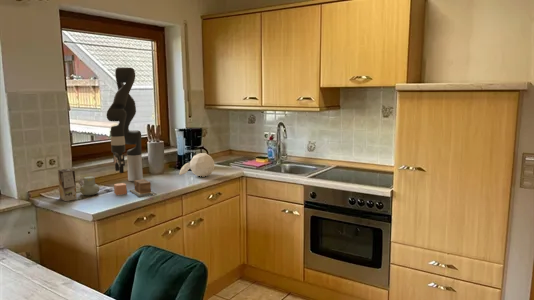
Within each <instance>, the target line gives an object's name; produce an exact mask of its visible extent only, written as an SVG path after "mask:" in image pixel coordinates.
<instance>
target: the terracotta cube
mask: <svg viewBox="0 0 534 300" xmlns="http://www.w3.org/2000/svg"><path fill="white" fill-rule="evenodd" d="M113 190H114V191H113V193H114V194H115V195H116V196H120V195H127V194H128V192H127V190H128V189H127V184H126V183H125V182H121V183H114V184H113Z"/></svg>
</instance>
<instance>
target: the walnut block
mask: <svg viewBox="0 0 534 300" xmlns="http://www.w3.org/2000/svg"><path fill="white" fill-rule="evenodd" d="M133 183H134V189H135V191H137V192H138V193H140V194H143V193H150V192H151V191H152V184H151V181H149V180H147V179H145V178H143V179H142V180H134V181H133Z"/></svg>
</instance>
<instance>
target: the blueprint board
mask: <svg viewBox="0 0 534 300" xmlns="http://www.w3.org/2000/svg"><path fill="white" fill-rule="evenodd" d="M129 192H130V193H132V194H134V195H135V196H136V197H138V198H143V197H149V195H151V196H154V195H153V194H156V195H157V192H154V191H153V190H151V192H150V193H143V194H140V193H138V192H137V191H135V188H133V189H129Z"/></svg>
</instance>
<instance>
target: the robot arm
mask: <svg viewBox="0 0 534 300" xmlns="http://www.w3.org/2000/svg"><path fill="white" fill-rule="evenodd" d="M114 72H115V73H114V75H115V82H116V85H117V86H116V87H117V90H116V92H115V94H114V97H113V101H112V103H111V105H110V107H108V110H107V111H106V118H107V119H106V120H107V121H109V122H118V124H117V125H112V126H111V127H110V145H111V146H110V147H111V148H110V149H111V153H113V155H112V156H113V157H112V158H113V163H114V167H115V168H114V169H115V172H118V171H119V174H123V173H124V172H125V170H124V167H125V166H126V162H127V181H129V182H134V180H142V179H144V177H143V160H142V157H143V156H142V153H143V152H142V133H141V130H130V129H129V127H130V124H131V123H132V120H133V119H134V118H135V115H136V113H137V109H136V101H135V100H134V98H133V97H132V96H131V94H130V92H131V89H132V88H133V85H134V84H135V80H136V70H135V69H134V68H133V67H123V66H121V67H120V66H119V67H116V68H115V71H114ZM126 145H135V146H134V147H132V148H129V149H128V150H127V151H126ZM125 152H126V159H127V160H126V161H125V155H124V154H123V153H125Z"/></svg>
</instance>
